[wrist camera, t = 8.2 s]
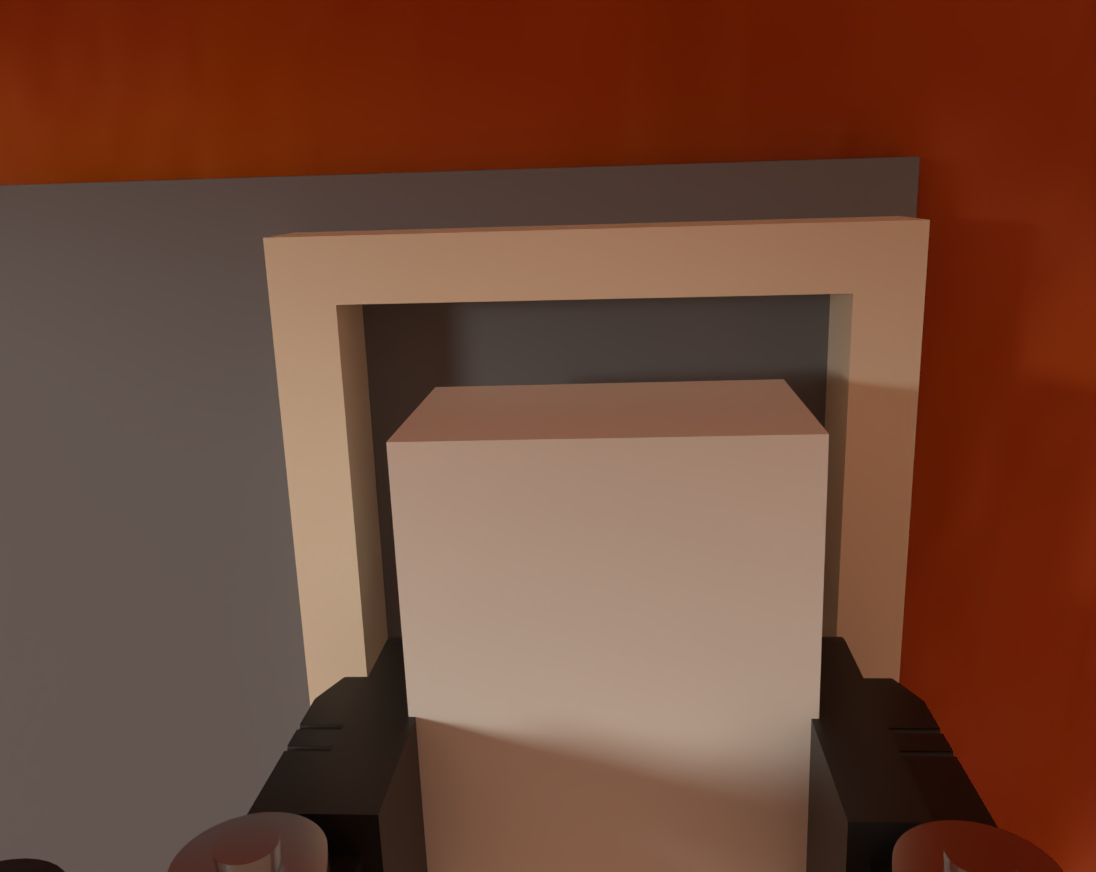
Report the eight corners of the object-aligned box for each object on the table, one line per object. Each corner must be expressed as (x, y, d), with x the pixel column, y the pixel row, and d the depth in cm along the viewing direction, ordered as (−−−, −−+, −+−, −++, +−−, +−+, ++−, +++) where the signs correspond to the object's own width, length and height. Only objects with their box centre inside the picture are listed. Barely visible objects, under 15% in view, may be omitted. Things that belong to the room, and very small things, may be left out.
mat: (-205, 1146, 18) (-292, 1250, 16) (-474, 201, 14) (-630, 204, 12) (843, 1192, 17) (870, 1309, 15) (905, 157, 12) (952, 154, 11)
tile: (435, 387, 11) (386, 442, 9) (783, 378, 11) (828, 433, 9) (474, 958, 13) (442, 1129, 11) (770, 965, 13) (804, 1142, 11)
